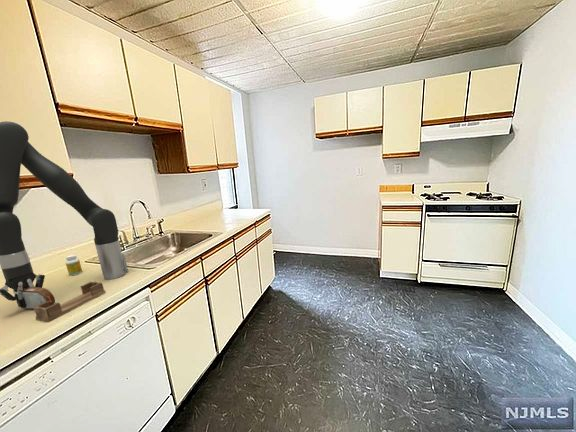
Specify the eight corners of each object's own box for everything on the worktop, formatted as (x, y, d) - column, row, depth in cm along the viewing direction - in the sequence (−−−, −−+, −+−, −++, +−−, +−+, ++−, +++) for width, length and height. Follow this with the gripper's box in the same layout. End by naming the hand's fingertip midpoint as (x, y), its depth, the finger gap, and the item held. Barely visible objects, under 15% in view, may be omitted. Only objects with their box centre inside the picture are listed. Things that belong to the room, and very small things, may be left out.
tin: (57, 306, 97) (52, 286, 95) (48, 311, 94) (42, 290, 92) (28, 305, 100) (22, 285, 99) (18, 309, 97) (12, 289, 96)
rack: (36, 319, 90) (32, 307, 89) (94, 291, 108) (91, 281, 107) (48, 322, 87) (44, 310, 86) (105, 292, 106) (102, 282, 105)
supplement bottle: (71, 276, 126) (66, 258, 124) (67, 274, 129) (62, 257, 127) (84, 272, 130) (79, 254, 128) (80, 270, 133) (75, 253, 131)
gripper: (33, 256, 102) (45, 295, 106) (-17, 270, 89) (-1, 314, 93) (44, 257, 100) (56, 296, 103) (-5, 272, 87) (10, 317, 90)
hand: (29, 304), depth 98 cm, fingers closed on tin, 3 cm apart
